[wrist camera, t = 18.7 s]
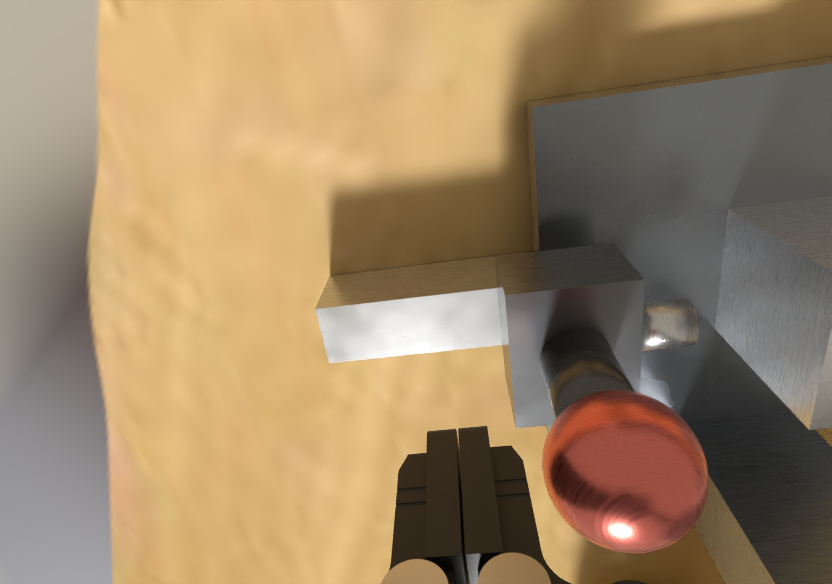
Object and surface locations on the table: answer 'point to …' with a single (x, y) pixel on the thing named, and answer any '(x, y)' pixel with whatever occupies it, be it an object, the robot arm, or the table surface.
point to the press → (656, 281)
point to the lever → (600, 394)
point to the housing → (782, 300)
